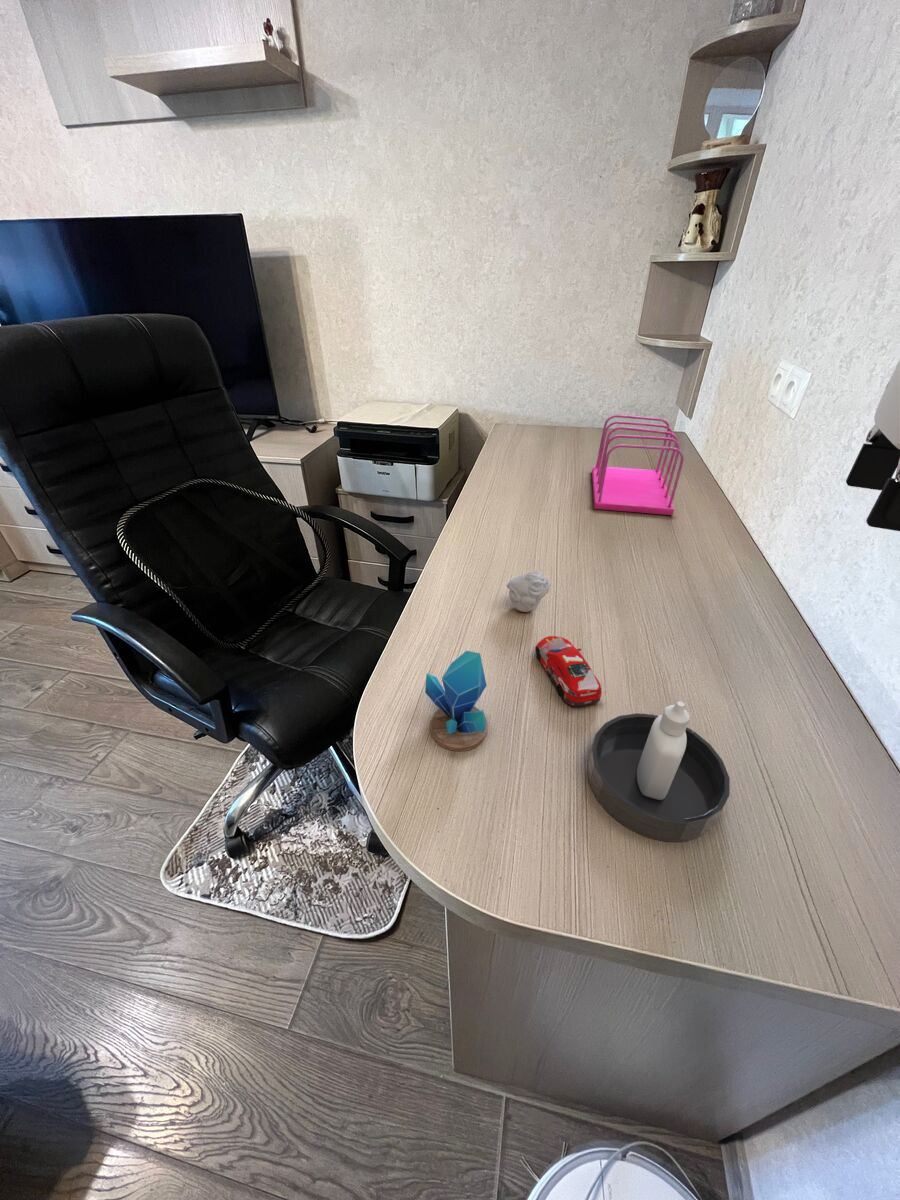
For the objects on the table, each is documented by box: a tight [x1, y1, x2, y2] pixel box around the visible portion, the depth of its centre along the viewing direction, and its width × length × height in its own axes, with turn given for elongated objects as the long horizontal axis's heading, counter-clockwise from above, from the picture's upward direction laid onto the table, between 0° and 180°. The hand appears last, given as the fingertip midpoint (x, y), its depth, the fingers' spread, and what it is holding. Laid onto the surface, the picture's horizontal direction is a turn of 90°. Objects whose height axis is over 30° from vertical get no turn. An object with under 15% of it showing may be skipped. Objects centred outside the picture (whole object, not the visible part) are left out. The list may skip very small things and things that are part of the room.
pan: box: [587, 712, 731, 843], centre depth 55 cm, size 14×14×4 cm
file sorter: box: [591, 414, 685, 516], centre depth 120 cm, size 17×25×16 cm
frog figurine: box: [506, 570, 552, 613], centre depth 82 cm, size 6×7×7 cm
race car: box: [535, 635, 602, 708], centre depth 69 cm, size 13×5×4 cm, turn 13°
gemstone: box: [424, 650, 489, 752], centre depth 59 cm, size 7×9×12 cm
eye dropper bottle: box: [637, 701, 691, 800], centre depth 52 cm, size 4×6×12 cm
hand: (875, 505), depth 45 cm, fingers open, 9 cm apart
